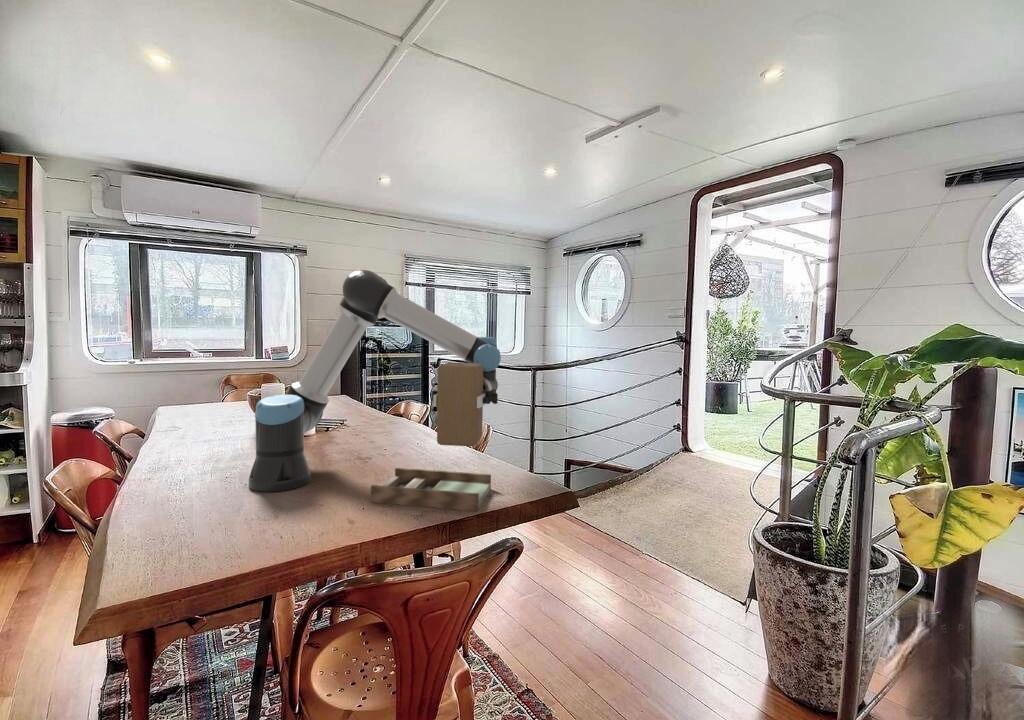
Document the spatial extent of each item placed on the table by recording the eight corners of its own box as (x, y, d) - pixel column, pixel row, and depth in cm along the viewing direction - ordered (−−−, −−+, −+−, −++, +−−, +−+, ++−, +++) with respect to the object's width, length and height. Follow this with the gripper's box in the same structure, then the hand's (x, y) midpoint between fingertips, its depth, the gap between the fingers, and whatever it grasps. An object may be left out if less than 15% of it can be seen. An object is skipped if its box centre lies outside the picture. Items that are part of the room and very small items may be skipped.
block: (482, 438, 122) (484, 363, 120) (475, 447, 112) (477, 365, 110) (445, 436, 123) (446, 362, 121) (435, 445, 113) (436, 364, 111)
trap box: (370, 502, 113) (370, 486, 113) (396, 481, 129) (396, 467, 128) (477, 511, 109) (477, 494, 109) (490, 488, 125) (491, 474, 124)
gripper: (515, 404, 133) (501, 419, 111) (439, 401, 136) (411, 414, 114) (515, 379, 132) (502, 388, 110) (439, 376, 136) (411, 384, 114)
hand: (456, 401), depth 112 cm, fingers closed on block, 10 cm apart
